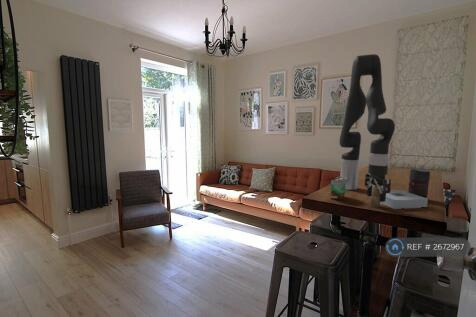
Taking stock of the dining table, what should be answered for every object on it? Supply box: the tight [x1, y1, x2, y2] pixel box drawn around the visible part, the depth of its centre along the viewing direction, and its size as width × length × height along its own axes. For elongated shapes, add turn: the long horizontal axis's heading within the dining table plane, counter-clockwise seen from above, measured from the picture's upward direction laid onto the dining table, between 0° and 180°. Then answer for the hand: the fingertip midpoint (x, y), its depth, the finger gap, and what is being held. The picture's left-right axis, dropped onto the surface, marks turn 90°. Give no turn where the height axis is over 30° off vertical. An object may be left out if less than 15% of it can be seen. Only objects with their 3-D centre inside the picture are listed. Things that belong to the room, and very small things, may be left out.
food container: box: [330, 175, 347, 200], centre depth 126 cm, size 12×6×10 cm, turn 143°
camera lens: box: [407, 168, 431, 198], centre depth 122 cm, size 8×8×15 cm
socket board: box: [370, 189, 429, 210], centre depth 118 cm, size 16×16×4 cm
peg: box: [370, 185, 381, 209], centre depth 112 cm, size 4×4×10 cm
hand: (375, 198), depth 112 cm, fingers open, 8 cm apart
